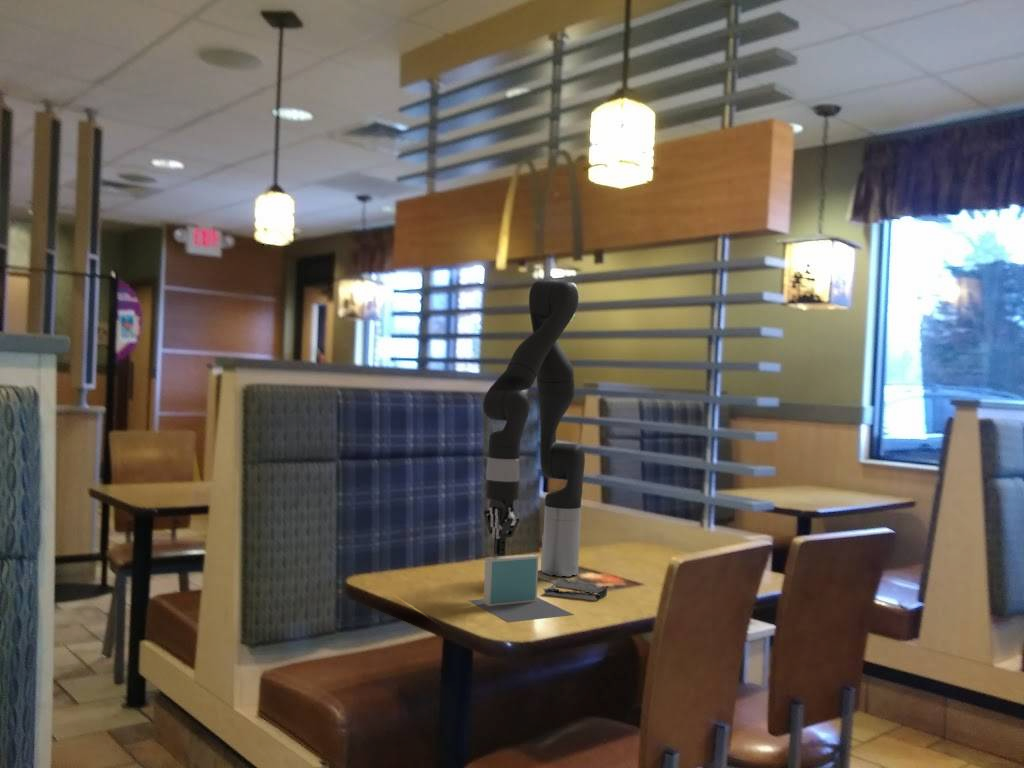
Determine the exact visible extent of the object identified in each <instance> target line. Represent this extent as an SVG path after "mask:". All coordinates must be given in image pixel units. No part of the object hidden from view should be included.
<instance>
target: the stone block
mask: <svg viewBox="0 0 1024 768" xmlns="http://www.w3.org/2000/svg"><path fill="white" fill-rule="evenodd" d="M484 559H485V560H484V583H483V599H484V602H483V603H484V604H485V605H487V606H495V605H505V604H515V603H525V602H535V601H537V597H538V596H537V595H538V577H539V576H538V575H539V574H538V573H539V555H536V554H532V553H531V554H519V555H515V554H514V555H504V556H490V557H489V556H488V557H485V558H484Z"/></svg>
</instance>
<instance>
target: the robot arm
mask: <svg viewBox="0 0 1024 768" xmlns="http://www.w3.org/2000/svg"><path fill="white" fill-rule="evenodd" d="M528 295H529V296H528V305H529V315H530V320H531V327H532V328H531V329H532V334H530V335H529V336H528V337H526V338H525V339H524V340H523V341H522V342H521V343H520V344H519V345H518V347H517V348H516V349H515V351H514V353H513V354H512V356H511V358H510V360H509V363H508V365H507V367H506V369H505V370H504V372H503V373H502V374H501V375H500V376H499V377H498V378H497V379H496V381H495V382H494V383H493V384H492V385H491V386H490V387H489V389H488V390H487V392H486V393H485V396H484V398H483V403H482V404H483V405H482V406H483V407H482V408H483V412H484V415H485V416H486V417H487V418H488V419H490V420H493V421H502V422H503V421H505V425H504V427H503V429H502V430H497V431H493V432H492V433H491V434H490V435H489V440H488V456H487V465H486V473H485V474H486V476H485V493H484V494H485V496H484V497H485V498H486V499H487V500H489V508H488V509H485V510H484V511H483V517H484V519H485V522H486V526H487V531H488V533H489V535H492V538H493V555H495V556H496V557H501V556H506V543H507V539H508V538H511V537H513V534H515V533H514V532H515V531H516V528H517V526H518V525H519V523H520V517H518V516H515V515H514V511H515V507H514V502H515V501H517V500H519V498H520V494H519V493H520V476H521V466H520V464H521V463H520V450H521V440H522V437H523V434H524V430H525V426H526V423H527V420H528V417H529V414H530V405H531V404H530V399H529V397H528V396H527V394H526V393H525V392H524V391H525V390H529V389H531V387H532V386H533V384H534V382H535V381H536V382H537V383H536V384H537V396H538V405H539V421H540V422H539V423H540V425H539V426H540V430H539V431H540V441H539V442H540V443H539V445H540V446H539V451H540V453H539V455H540V456H539V458H540V460H539V462H540V464H539V465H540V469H541V472H542V476H544V477H545V478H547V479H554V480H565V481H567V482H566V485H565V487H562V488H561V489H558V490H556V491H552V492H551V491H550V492H549V493H547V494H546V495H545V497H544V498H545V499H544V518H543V521H544V523H543V533H542V535H541V555H540V556H541V559H540V560H541V561H540V570H541V572H542V573H543V574H544V573H545V575H547V574H548V575H547V576H552V575H556V576H555V577H562V576H566V577H573V576H572V575H575V576H577V575H579V560H580V536H581V514H582V511H581V510H582V498H583V485H584V484H583V483H584V475H585V474H584V473H585V465H586V464H585V462H586V455H585V450H584V447H583V446H582V445H580V444H576V443H564V442H563V443H561V442H557V431H558V430H557V429H558V427H559V424H560V422H561V421H562V419H563V417H564V415H565V414H566V412H567V411H568V409H569V407H570V406H571V404H572V402H573V400H574V397H575V393H576V391H575V390H576V389H575V377H574V376H575V373H574V368H573V365H572V363H571V361H570V359H569V358H568V356H567V355H566V353H565V351H564V350H563V349H562V347H561V345H560V344H559V342H558V339H559V338H560V336H561V335H562V333H563V332H564V331H565V329H566V328H567V326H568V325H569V324H570V321H571V320H572V319H573V317H574V315H575V313H576V311H577V309H578V306H579V292H578V289H577V287H576V285H575V284H573V283H572V282H568V281H557V280H556V281H555V280H538V281H535V282H533V284H532V285H531V287H530V290H529V294H528Z"/></svg>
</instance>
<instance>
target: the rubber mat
mask: <svg viewBox="0 0 1024 768" xmlns="http://www.w3.org/2000/svg"><path fill="white" fill-rule="evenodd" d="M468 602H470V603H471V604H473V605H476V606H477V607H480V608H481V609H483V610H484V611H487V612H488V613H490V614H492V615H493V616H495V617H496V618H499V619H501V620H503V621H505V622H506V623H516V622H524V621H525V622H526V621H532V620H533V621H535V620H541V619H549V618H551V619H552V618H558V617H559V618H560V617H569V616H575V614H574V613H571V612H570V611H567V610H565V609H563V608H561V607H559V606H557V605H554V604H553V603H550V602H548V601H546V600H544V599H542V598H540V597H538V596H537V601H535V602H525V603H515V604H505V605H495V606H487V605H485V604H484V603H483V602H484V598H482V599H472V600H471V599H470V600H468Z"/></svg>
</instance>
